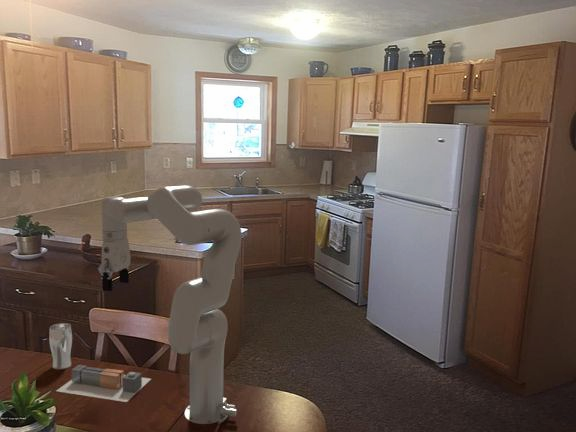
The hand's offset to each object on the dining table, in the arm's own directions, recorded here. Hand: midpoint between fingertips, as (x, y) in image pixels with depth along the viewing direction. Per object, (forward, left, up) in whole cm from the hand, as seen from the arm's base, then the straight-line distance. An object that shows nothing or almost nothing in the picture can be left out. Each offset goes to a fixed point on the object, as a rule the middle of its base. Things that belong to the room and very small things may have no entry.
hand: (116, 286), depth 161 cm
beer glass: (+20, +2, -31) cm, 37 cm away
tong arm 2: (+1, +9, -29) cm, 30 cm away
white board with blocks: (-2, +10, -30) cm, 32 cm away
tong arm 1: (+1, +11, -29) cm, 31 cm away
